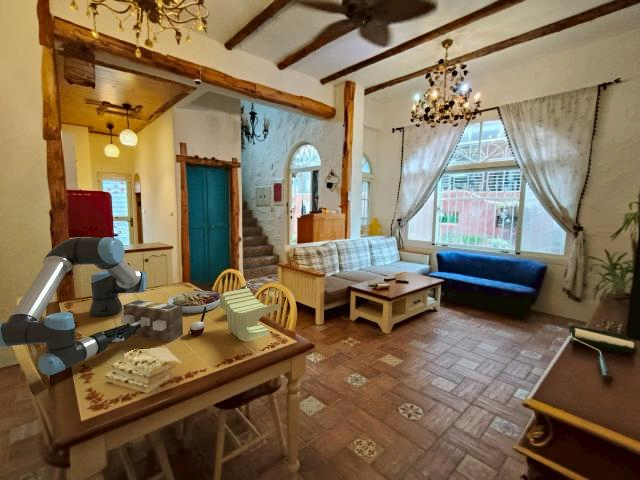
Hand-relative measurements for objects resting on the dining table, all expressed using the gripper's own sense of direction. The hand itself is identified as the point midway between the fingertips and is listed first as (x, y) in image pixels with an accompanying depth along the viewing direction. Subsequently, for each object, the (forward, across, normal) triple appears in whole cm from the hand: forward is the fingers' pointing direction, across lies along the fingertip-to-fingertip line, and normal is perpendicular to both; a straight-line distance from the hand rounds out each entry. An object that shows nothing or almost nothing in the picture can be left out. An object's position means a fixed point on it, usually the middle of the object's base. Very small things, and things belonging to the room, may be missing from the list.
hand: (144, 322), depth 135 cm
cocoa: (+12, +19, -8) cm, 24 cm away
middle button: (+2, 0, -1) cm, 2 cm away
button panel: (+5, 0, -8) cm, 9 cm away
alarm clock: (+43, +24, -8) cm, 50 cm away
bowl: (+44, -8, -8) cm, 45 cm away
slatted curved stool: (+21, +41, -8) cm, 47 cm away
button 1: (-1, -9, -2) cm, 9 cm away
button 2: (0, +9, -2) cm, 9 cm away
